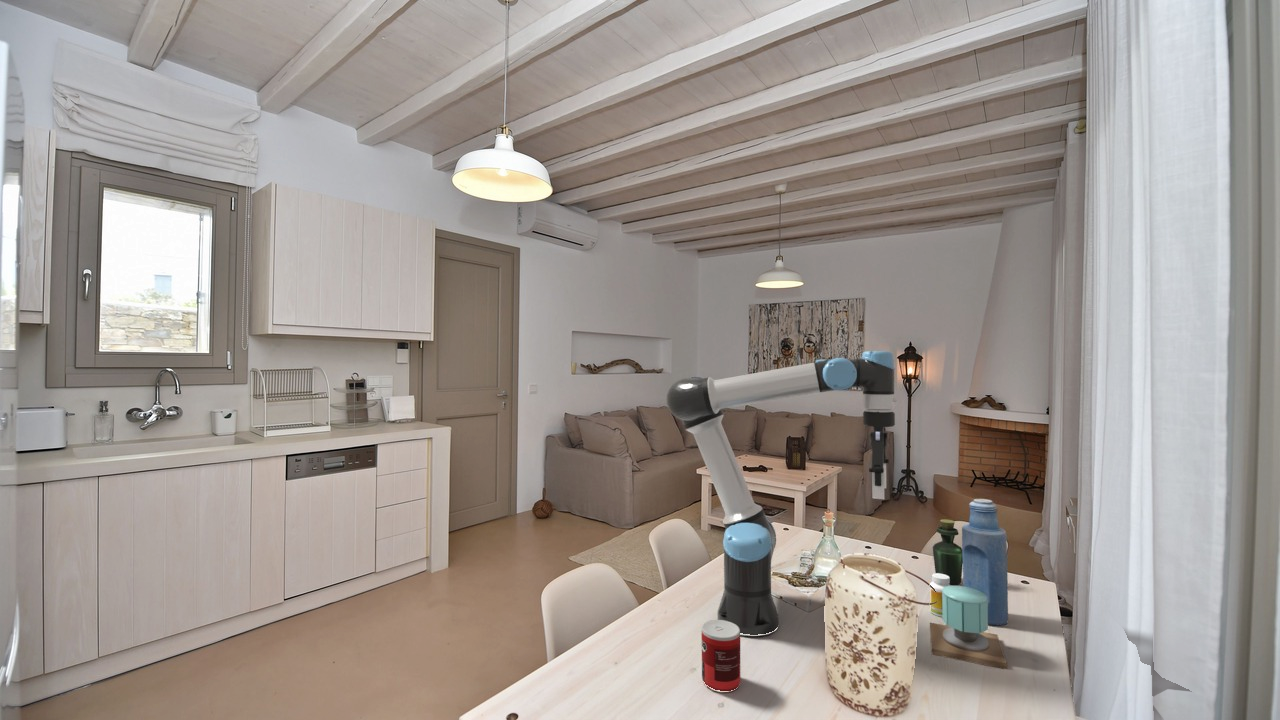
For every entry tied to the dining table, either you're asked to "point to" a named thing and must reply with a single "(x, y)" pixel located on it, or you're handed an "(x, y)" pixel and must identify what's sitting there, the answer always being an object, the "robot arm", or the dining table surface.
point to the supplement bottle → (938, 592)
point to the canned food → (721, 655)
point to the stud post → (967, 646)
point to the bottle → (986, 558)
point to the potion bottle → (948, 553)
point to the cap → (965, 609)
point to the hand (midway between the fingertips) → (879, 493)
